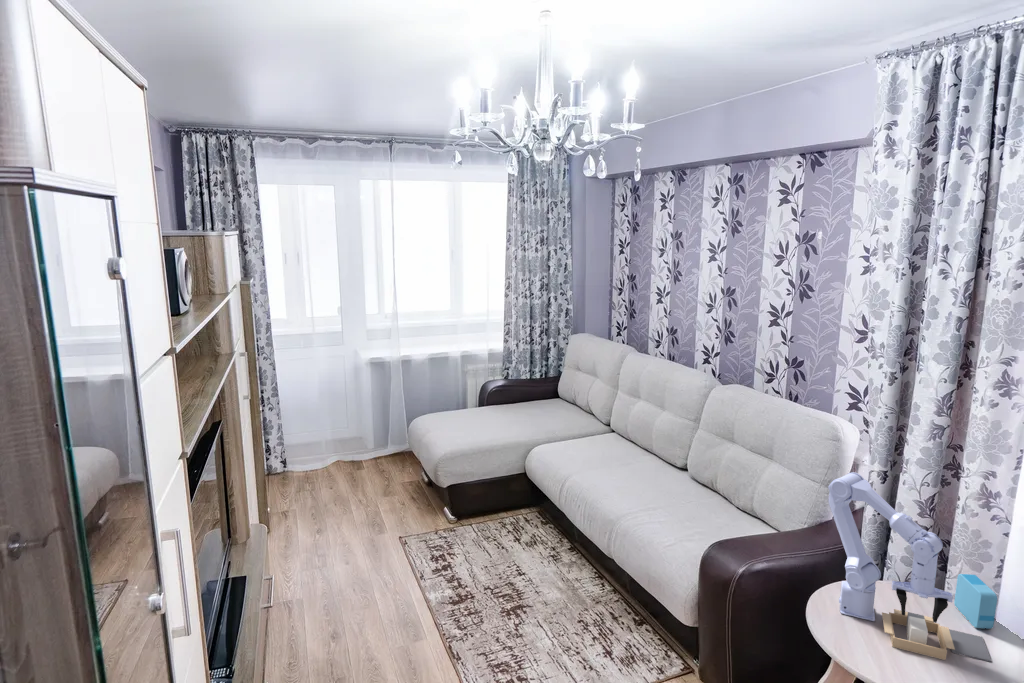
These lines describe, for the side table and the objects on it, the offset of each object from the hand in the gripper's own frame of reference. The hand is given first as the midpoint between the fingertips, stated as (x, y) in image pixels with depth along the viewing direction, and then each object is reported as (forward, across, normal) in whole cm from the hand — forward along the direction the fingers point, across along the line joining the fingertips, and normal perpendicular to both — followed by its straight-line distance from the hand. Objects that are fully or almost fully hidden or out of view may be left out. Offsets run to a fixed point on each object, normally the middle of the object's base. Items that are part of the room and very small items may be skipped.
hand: (918, 616), depth 176 cm
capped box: (+8, 0, 0) cm, 8 cm away
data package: (+8, +17, +19) cm, 27 cm away
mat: (+8, +13, +4) cm, 15 cm away
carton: (+8, 0, +1) cm, 8 cm away
